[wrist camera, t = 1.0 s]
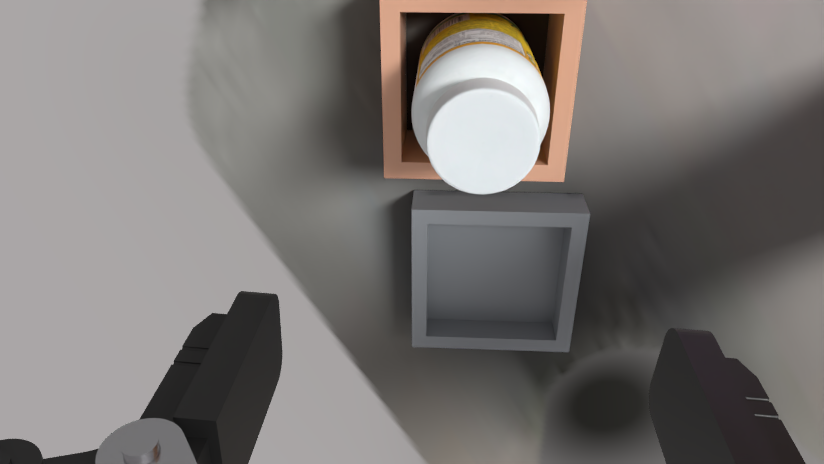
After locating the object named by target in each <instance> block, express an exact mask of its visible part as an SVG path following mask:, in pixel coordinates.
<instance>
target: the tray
mask: <svg viewBox="0 0 824 464" xmlns="http://www.w3.org/2000/svg"><path fill="white" fill-rule="evenodd" d="M589 219H590V212H589V209H588V206H587V204H586V201H585V199H584V196H583V194H572V193H527V192H497V193H492V194H472V193H467V192H463V191H436V190H414V193H413V202H412V347H427V348H457V349H487V350H517V351H548V352H569V349H570V342H571V336H572V329H573V323H574V316H575V310H576V303H577V297H578V290H579V284H580V278H581V271H582V265H583V258H584V252H585V245H586V239H587V232H588V226H589Z"/></svg>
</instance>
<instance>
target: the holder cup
mask: <svg viewBox="0 0 824 464" xmlns="http://www.w3.org/2000/svg"><path fill="white" fill-rule="evenodd" d="M586 4H587V0H380V36H381V75H382V114H383V153H384V178H403V179H442V178H441V177H440V176H439V175H438V174H437V173H436V171H435V170H434V168H433V167H432V165H431V162H430V160H429V157H428V156H427V155H426V154H425V152H424V151H423V150H422V148H421V146H420V144H419V143H418V140H417V138H416V136H415V133H414V130H407V76H406V12H443V13H549V22H548V32H547V42H546V52H545V62H544V71H543V80H544V83H545V86H546V89H547V92H548V96H549V102H550V118H549V124H548V128H547V131H546V134H545V136H544V139H543V141H542V142H541V144H540V151H539V154H538V157H537V160H536V162H535V164H534V166H533V167H532V169H531V170H530V172H529V173H528V174H527V175H526V176H525V177H524V178H523V179H522V180H521V181H545V182H564V177H565V169H566V161H567V153H568V145H569V137H570V130H571V122H572V114H573V106H574V98H575V90H576V83H577V75H578V67H579V59H580V51H581V43H582V36H583V28H584V20H585V12H586Z"/></svg>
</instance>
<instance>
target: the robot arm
mask: <svg viewBox="0 0 824 464" xmlns="http://www.w3.org/2000/svg"><path fill="white" fill-rule="evenodd" d="M281 365H282V341H281V326H280V311H279V300H278V296H277V295H276V294H269V293H257V292H244V291H241V292H239V293H238V295H237V297H236V299H235V300H234V302H233V304H232V306H231V308H230V310H229V312H228V314H216V313H212V314H211V315H209V316H208V317H207V318H206V319H204V320H203V321H202V322H200V323H199V324H198V325H197V326H195V327H194V328H193V329H192V331H191V333H190V334H189V336H188V338H187V339H186V341H185V343H184V345H183V348H182V350H180V351H179V353H178V355H177V357H176V358H175V360H174V364H173V365H171V367H170V368H169V370H168V372H167V374H166V375H165V377H164V379H163V381H162V382H161V384H160V385H159V387H158V389H157V391H156V392H155V394H154V396H153V398H152V399H151V401H150V403H149V404H148V406H147V408H146V409H145V411H144V413H143V414H142V416H141V418H140V419H139V420H137V421H134V422H131V423H128V424H126V425H124V426H122V427H120V428H118V429H117V430H115V431H114V432H113V433H111V434H110V435H109V436H108V437H107V438H106V439H105V440H104V441H103V443H102V444H101V445H100V447H99V449H96V450H92V451H88V452H83V453H77V454H71V455H65V456H59V457H53V458H47V459H43V457H42V454H41V452H40V450H39V448H38V447H37V446H35V444H33V443H31V442H29V441H26V440H22V439H5V440H0V464H248V462H249V460H250V457H251V454H252V451H253V449H254V446H255V443H256V440H257V438H258V435H259V432H260V430H261V427H262V424H263V421H264V419H265V416H266V413H267V410H268V408H269V405H270V402H271V399H272V397H273V394H274V391H275V388H276V386H277V382H278V380H279V376H280V371H281ZM649 409H650V415H651V418H652V421H653V424H654V427H655V430H656V433H657V436H658V439H659V443H660V446H661V449H662V452H663V455H664V457H665V461H666V464H805V462H804V460H803V458H802V456H801V455H800V453H799V451H798V449H797V447H796V446H795V444H794V442H793V440H792V439H791V437H790V435H789V433H788V431H787V430H786V428H785V426H784V424H783V422H782V421H781V420H779V419H778V414H777V412H776V410H775V408H774V406H773V405H772V403H771V402H769V397H768V396H767V394H766V392H765V390H764V389H763V387H762V385H761V383H760V381H759V380H758V378H757V377H756V376H755V375H754V374H753V373H752V372H751V371H750V370H748V369H747V368H746V367H745V366H744V365H743V364H742V363H741V362H740V361H739V360H738V359H734V358H725V357H724V355H723V353H722V351H721V349H720V347H719V345H718V343H717V341H716V339H715V337H714V336H713V334H712V333H711V332H709V331H701V330H689V329H677V328H671V329H669V330H668V331H667V333H666V335H665V338H664V341H663V345H662V348H661V351H660V354H659V358H658V361H657V364H656V368H655V371H654V374H653V377H652V380H651V384H650V389H649Z"/></svg>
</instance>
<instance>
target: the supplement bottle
mask: <svg viewBox="0 0 824 464" xmlns="http://www.w3.org/2000/svg"><path fill="white" fill-rule="evenodd" d="M411 113H412V125H413V129H414V133H415V136H416V138H417V140H418V143H419V144H420V146H421V148H422V150H423V151H424V152H425V154H426V155H427V156H428V157H429V160H430V162H431V165H432V167H433V168H434V170H435V171H436V173H437V174H438V175H439V176H440V177H441V178H442V179H443V180H444V181H445V182H446V183H448V184H449V185H451V186H452V187H454V188H456V189H458V190H460V191H463V192H467V193H472V194H492V193H497V192H501V191H504V190H506V189H508V188H510V187H512V186H514V185H516V184H517V183H518V182H520V181H521V180H522V179H523V178H524V177H525V176H526V175H527V174H528V173H529V172H530V170H531V169H532V167H533V166H534V164H535V162H536V160H537V157H538V154H539V151H540V144H541V142H542V141H543V139H544V136H545V134H546V131H547V128H548V124H549V118H550V102H549V96H548V92H547V89H546V86H545V83H544V80H543V78H542V75H541V72H540V70H539V68H538V65H537V63H536V61H535V58H534V56H533V54H532V51H531V48H530V46H529V44H528V42H527V41H526V39H525V37H524V35H523V33H522V32H521V30H520V29H519V28H518V27H517V26H516V24H515V23H513V22H512V21H511V20H510V19H508V18H507V17H505V16H503V15H501V14H499V13H455V14H453V15H451V16H449V17H448V18H446V19H444V20H443V21H442V22H440V23H439V24H438V25H437V26H436V27H435V28H434V29H433V30H432V31H431V33H430V34H429V35H428V37H427V38H426V40H425V42H424V44H423V46H422V49H421V53H420V57H419V63H418V70H417V77H416V83H415V89H414V95H413V101H412V111H411Z"/></svg>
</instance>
